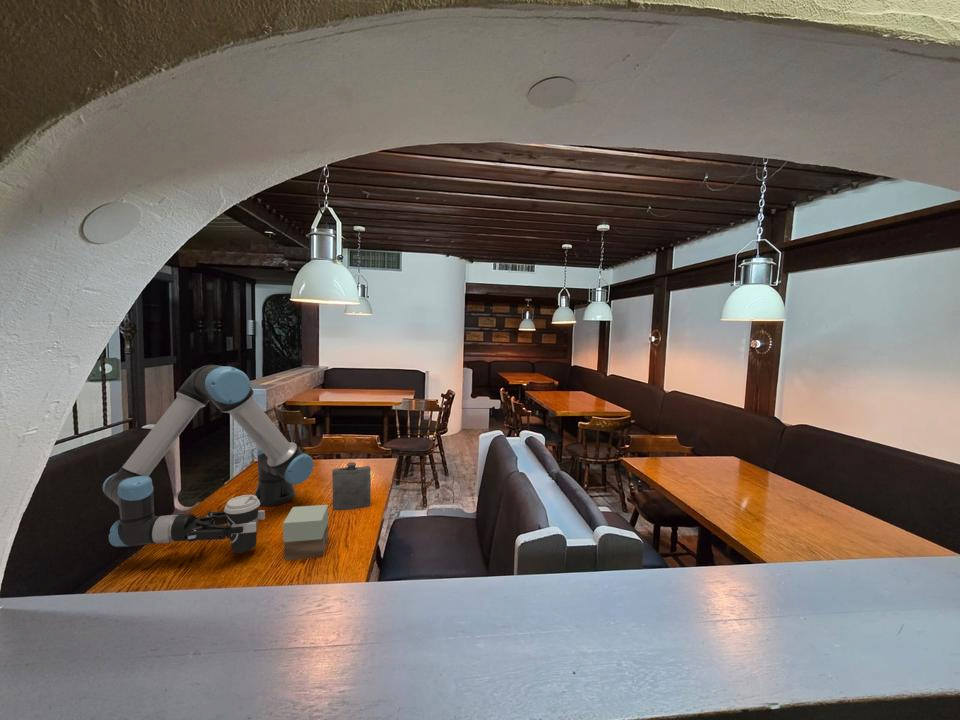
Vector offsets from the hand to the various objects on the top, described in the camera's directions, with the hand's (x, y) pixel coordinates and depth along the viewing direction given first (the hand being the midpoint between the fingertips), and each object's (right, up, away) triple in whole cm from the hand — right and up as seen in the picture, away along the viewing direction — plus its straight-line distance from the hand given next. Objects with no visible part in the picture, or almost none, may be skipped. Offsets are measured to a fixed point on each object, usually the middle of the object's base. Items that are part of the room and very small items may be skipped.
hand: (260, 520), depth 121 cm
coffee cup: (-5, -8, 0) cm, 10 cm away
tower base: (+13, -11, +4) cm, 17 cm away
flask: (+18, -9, +34) cm, 39 cm away
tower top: (+13, -5, +3) cm, 14 cm away
